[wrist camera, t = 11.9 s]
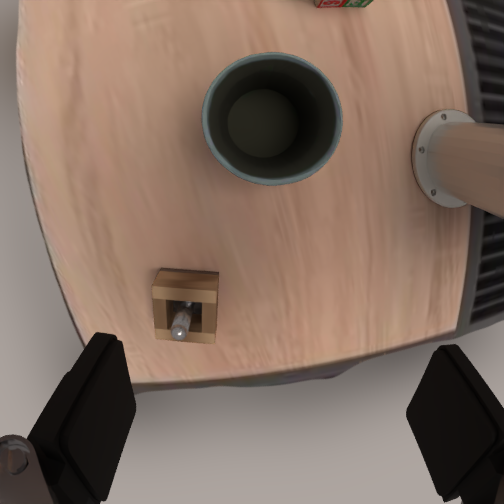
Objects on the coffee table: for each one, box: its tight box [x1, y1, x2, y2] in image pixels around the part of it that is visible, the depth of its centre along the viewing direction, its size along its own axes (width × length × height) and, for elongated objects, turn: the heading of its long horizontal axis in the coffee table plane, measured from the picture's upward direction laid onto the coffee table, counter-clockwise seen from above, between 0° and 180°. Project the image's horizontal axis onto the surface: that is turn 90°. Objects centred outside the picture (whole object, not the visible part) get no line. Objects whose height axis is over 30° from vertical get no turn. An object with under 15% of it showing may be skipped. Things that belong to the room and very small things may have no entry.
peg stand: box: [160, 268, 219, 340], centre depth 35 cm, size 7×7×9 cm
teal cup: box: [202, 52, 343, 186], centre depth 27 cm, size 10×10×12 cm
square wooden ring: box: [152, 271, 219, 344], centre depth 37 cm, size 7×7×4 cm
